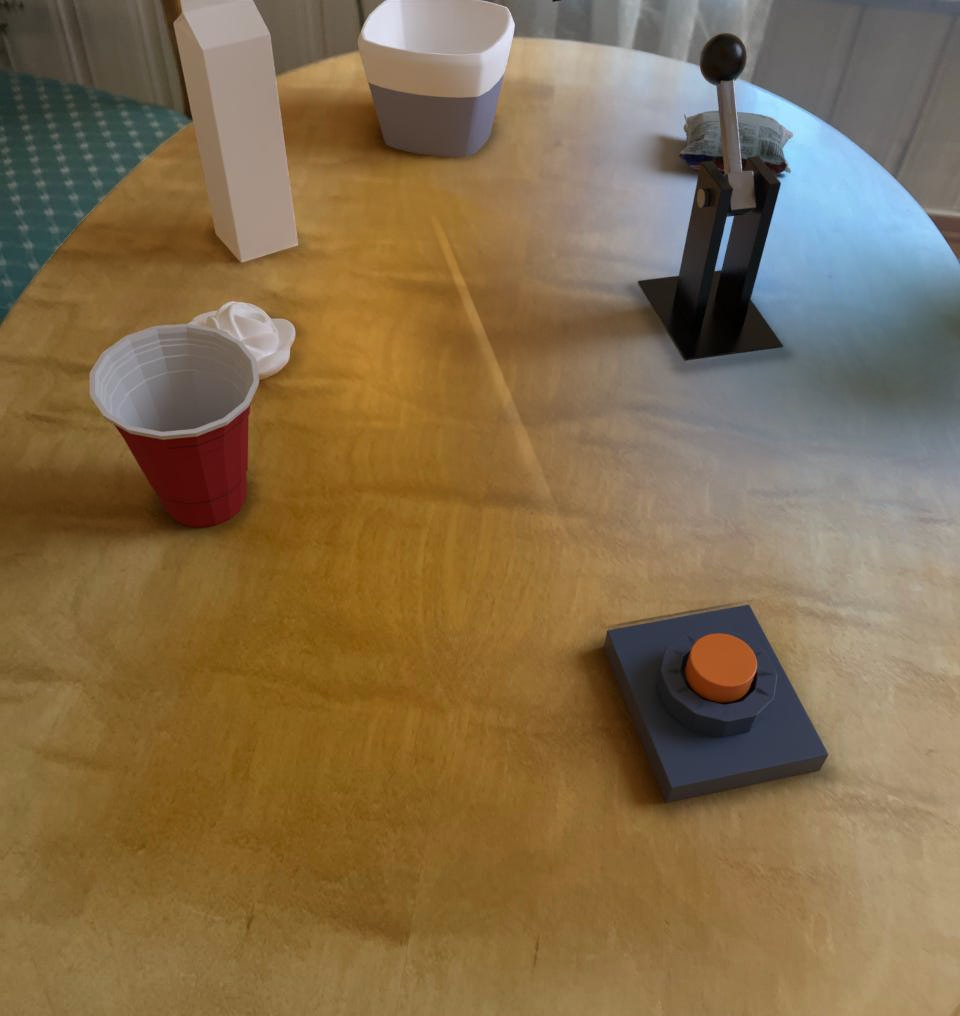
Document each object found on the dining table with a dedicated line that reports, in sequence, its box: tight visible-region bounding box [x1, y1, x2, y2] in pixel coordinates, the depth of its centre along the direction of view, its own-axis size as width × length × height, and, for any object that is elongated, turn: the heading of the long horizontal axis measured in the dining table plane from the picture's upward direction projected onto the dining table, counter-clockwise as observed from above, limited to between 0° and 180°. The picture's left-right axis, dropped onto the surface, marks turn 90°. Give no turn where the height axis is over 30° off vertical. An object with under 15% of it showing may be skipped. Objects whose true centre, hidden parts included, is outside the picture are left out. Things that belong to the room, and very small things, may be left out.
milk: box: [172, 0, 299, 264], centre depth 88 cm, size 6×6×22 cm
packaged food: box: [677, 110, 794, 176], centre depth 106 cm, size 9×12×5 cm
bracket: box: [638, 156, 784, 361], centre depth 84 cm, size 12×9×14 cm
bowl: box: [357, 0, 516, 158], centre depth 106 cm, size 15×15×11 cm
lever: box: [698, 32, 756, 218], centre depth 79 cm, size 13×4×4 cm
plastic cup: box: [89, 323, 260, 529], centre depth 70 cm, size 11×11×12 cm
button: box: [685, 633, 757, 703], centre depth 61 cm, size 4×4×2 cm
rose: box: [186, 300, 297, 381], centre depth 84 cm, size 10×4×10 cm
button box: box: [603, 604, 829, 804], centre depth 63 cm, size 12×10×4 cm
